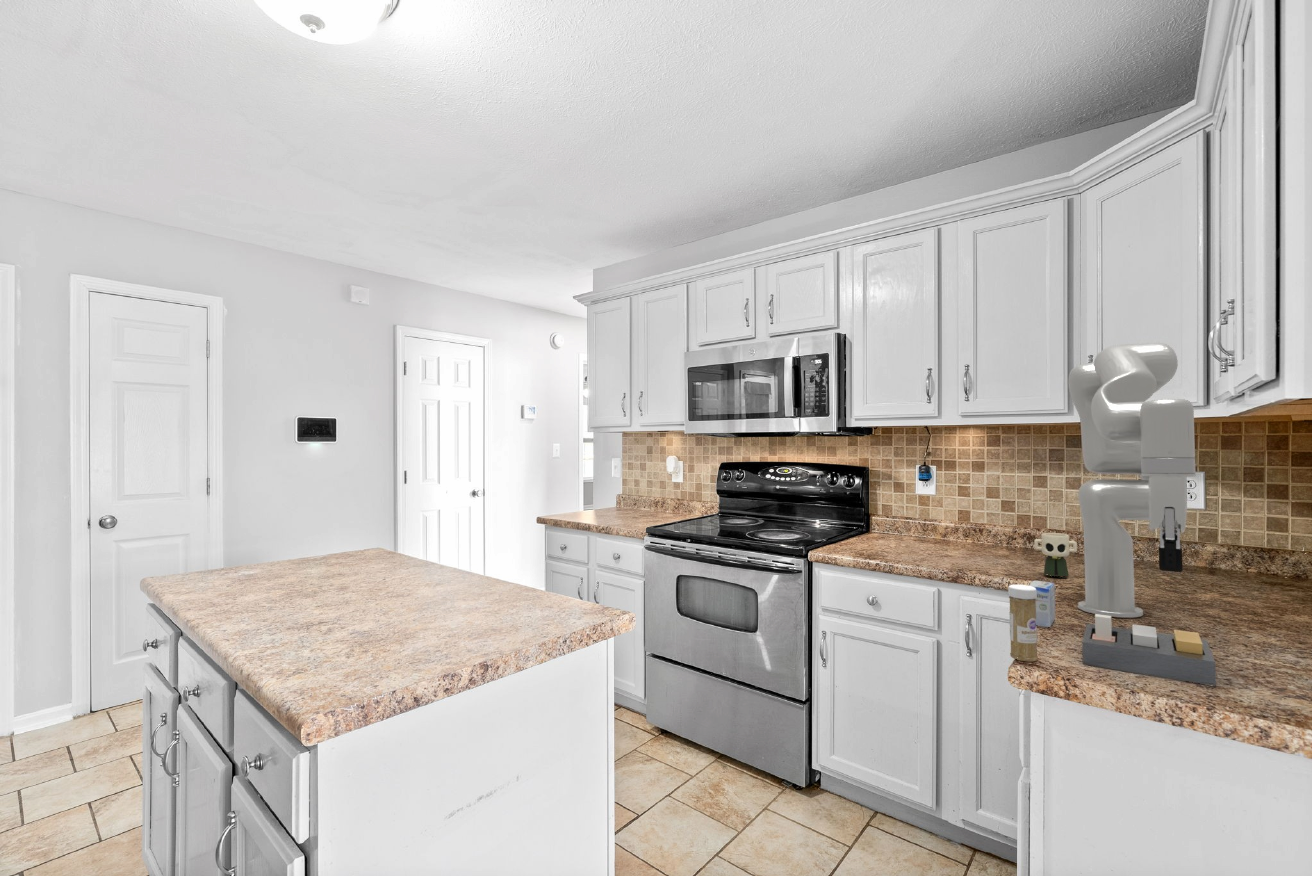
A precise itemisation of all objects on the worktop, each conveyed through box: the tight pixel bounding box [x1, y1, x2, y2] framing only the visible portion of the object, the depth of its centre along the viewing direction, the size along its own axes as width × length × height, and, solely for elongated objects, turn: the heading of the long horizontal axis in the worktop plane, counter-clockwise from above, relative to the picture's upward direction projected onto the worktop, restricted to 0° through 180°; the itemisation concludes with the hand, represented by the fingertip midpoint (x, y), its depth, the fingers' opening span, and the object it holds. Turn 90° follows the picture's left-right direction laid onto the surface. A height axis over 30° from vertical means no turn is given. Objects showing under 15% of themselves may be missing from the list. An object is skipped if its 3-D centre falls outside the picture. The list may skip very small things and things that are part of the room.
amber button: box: [1173, 629, 1203, 655], centre depth 109 cm, size 8×3×2 cm, turn 143°
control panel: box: [1082, 623, 1217, 687], centre depth 113 cm, size 15×18×4 cm
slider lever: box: [1092, 614, 1115, 642], centre depth 115 cm, size 4×3×5 cm
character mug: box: [1033, 532, 1078, 577], centre depth 189 cm, size 11×7×13 cm, turn 57°
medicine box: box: [1028, 580, 1056, 628], centre depth 140 cm, size 8×4×9 cm, turn 141°
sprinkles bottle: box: [1007, 584, 1039, 663], centre depth 116 cm, size 5×5×14 cm
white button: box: [1132, 624, 1157, 648], centre depth 113 cm, size 8×3×2 cm, turn 143°
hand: (1170, 570), depth 111 cm, fingers closed
